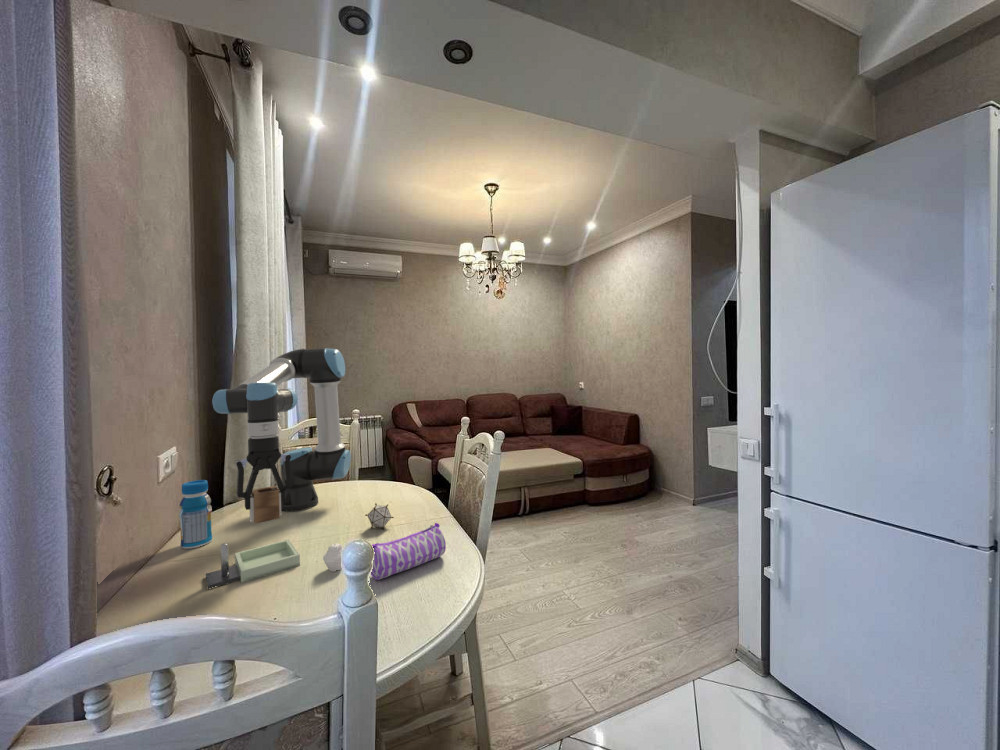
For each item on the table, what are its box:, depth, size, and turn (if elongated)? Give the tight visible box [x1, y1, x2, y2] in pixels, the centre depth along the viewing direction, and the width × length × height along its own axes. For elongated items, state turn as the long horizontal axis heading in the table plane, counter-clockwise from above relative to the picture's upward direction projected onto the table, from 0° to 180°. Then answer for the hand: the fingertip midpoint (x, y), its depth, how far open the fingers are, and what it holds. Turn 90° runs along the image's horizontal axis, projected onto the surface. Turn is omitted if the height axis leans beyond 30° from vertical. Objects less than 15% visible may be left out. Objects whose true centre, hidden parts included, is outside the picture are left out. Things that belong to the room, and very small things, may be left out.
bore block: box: [251, 485, 281, 525], centre depth 113 cm, size 6×6×8 cm
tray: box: [234, 539, 301, 583], centre depth 114 cm, size 14×14×3 cm
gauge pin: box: [205, 542, 241, 590], centre depth 106 cm, size 8×8×9 cm
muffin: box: [322, 543, 344, 572], centre depth 110 cm, size 6×6×7 cm
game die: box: [364, 502, 395, 531], centre depth 139 cm, size 9×8×10 cm
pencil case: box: [370, 522, 447, 581], centre depth 110 cm, size 22×9×10 cm, turn 136°
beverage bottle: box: [178, 479, 213, 550], centre depth 129 cm, size 8×8×20 cm
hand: (265, 517), depth 113 cm, fingers closed on bore block, 6 cm apart
